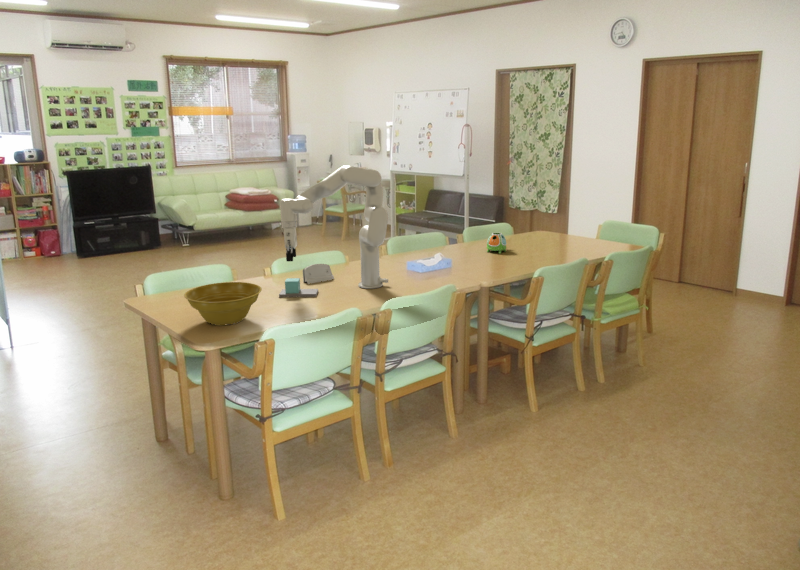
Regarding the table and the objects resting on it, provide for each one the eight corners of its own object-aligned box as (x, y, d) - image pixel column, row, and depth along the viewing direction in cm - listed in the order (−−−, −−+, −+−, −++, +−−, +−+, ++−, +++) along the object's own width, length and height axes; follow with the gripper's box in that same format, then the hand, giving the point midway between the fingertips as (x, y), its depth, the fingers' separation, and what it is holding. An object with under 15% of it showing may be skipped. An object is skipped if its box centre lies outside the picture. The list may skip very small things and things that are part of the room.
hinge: (307, 284, 344) (303, 265, 345) (303, 285, 348) (299, 266, 349) (335, 279, 354) (331, 261, 354) (331, 280, 358) (327, 262, 358)
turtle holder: (510, 249, 428) (511, 231, 425) (502, 254, 412) (503, 235, 409) (492, 247, 433) (493, 230, 430) (483, 252, 418) (484, 234, 415)
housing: (300, 289, 327) (299, 278, 325) (298, 293, 321) (297, 281, 319) (287, 290, 327) (286, 278, 325) (285, 293, 321) (284, 281, 319)
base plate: (318, 291, 329) (317, 281, 328) (316, 296, 319) (315, 287, 318) (282, 292, 329) (281, 282, 328) (279, 297, 319) (278, 287, 318)
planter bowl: (202, 338, 262) (199, 305, 258) (176, 319, 287) (173, 289, 284) (276, 322, 280) (274, 292, 276) (245, 306, 305) (243, 278, 302)
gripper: (294, 227, 307) (296, 262, 311) (299, 221, 324) (301, 255, 328) (278, 227, 307) (280, 263, 311) (284, 221, 324) (286, 255, 328)
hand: (291, 259), depth 320 cm, fingers open, 9 cm apart
